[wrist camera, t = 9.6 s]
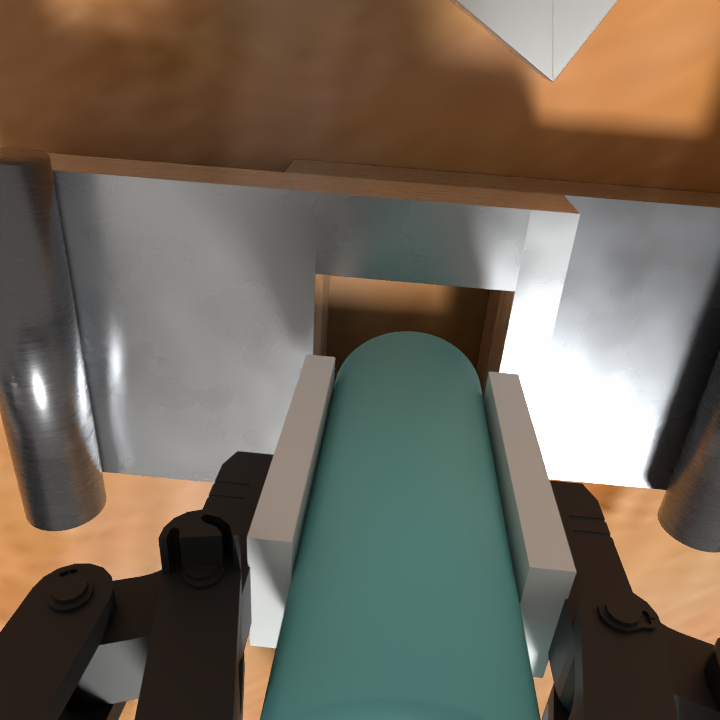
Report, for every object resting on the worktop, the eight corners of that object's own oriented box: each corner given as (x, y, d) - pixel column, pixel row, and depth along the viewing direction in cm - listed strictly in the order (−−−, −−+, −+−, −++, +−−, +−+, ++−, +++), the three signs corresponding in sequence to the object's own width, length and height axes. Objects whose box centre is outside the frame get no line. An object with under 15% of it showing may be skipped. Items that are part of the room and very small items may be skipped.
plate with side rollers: (701, 471, 24) (789, 607, 19) (93, 413, 25) (0, 526, 19) (818, 184, 19) (988, 252, 13) (45, 122, 20) (-100, 161, 14)
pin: (469, 463, 18) (521, 883, 9) (330, 449, 18) (252, 850, 9) (492, 338, 16) (586, 719, 7) (337, 324, 16) (245, 680, 7)
